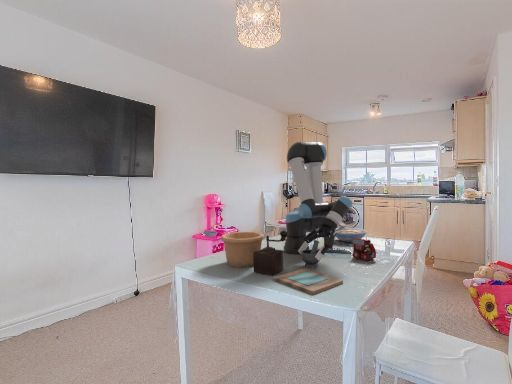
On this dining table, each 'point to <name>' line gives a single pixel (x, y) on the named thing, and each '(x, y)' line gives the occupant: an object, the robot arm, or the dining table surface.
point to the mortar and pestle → (310, 256)
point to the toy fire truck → (363, 249)
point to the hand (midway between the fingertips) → (307, 255)
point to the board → (308, 281)
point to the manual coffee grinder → (269, 258)
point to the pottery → (241, 247)
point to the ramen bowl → (349, 233)
